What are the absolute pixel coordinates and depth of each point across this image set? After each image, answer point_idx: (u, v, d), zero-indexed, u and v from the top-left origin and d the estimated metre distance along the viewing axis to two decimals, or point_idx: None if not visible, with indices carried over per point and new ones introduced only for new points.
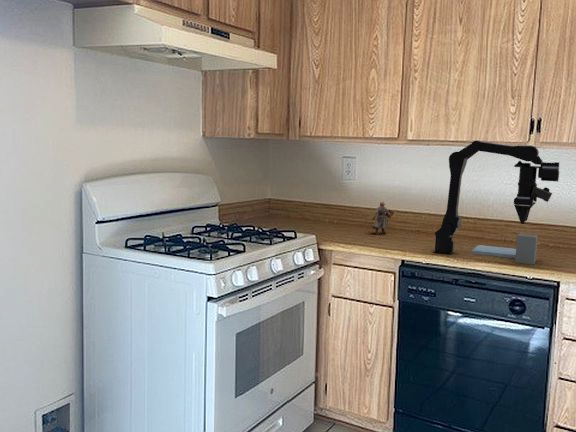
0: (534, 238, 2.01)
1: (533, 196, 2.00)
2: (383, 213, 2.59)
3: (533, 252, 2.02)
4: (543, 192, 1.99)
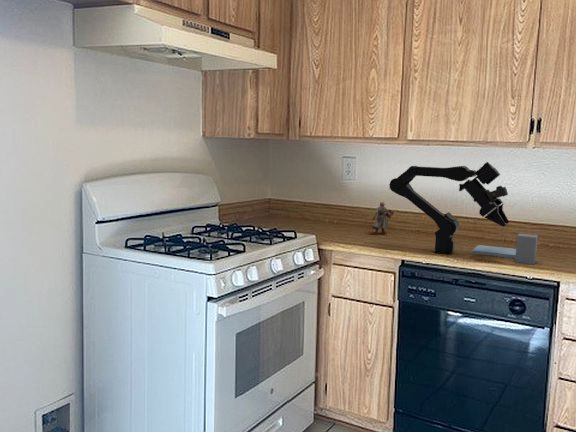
0: (534, 238, 2.01)
1: (493, 200, 2.07)
2: (383, 213, 2.59)
3: (533, 252, 2.02)
4: (497, 191, 2.06)
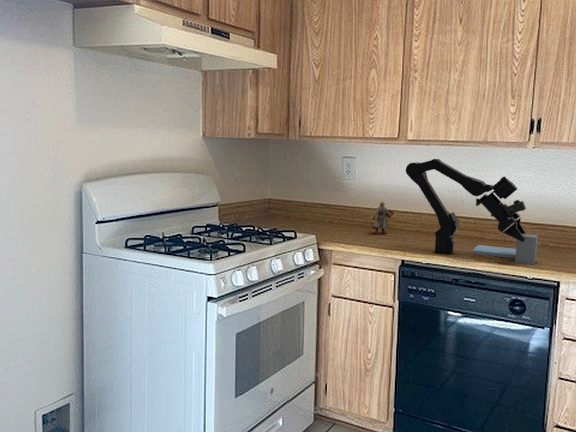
0: (534, 238, 2.01)
1: (511, 214, 2.04)
2: (383, 213, 2.59)
3: (533, 252, 2.02)
4: (514, 205, 2.04)
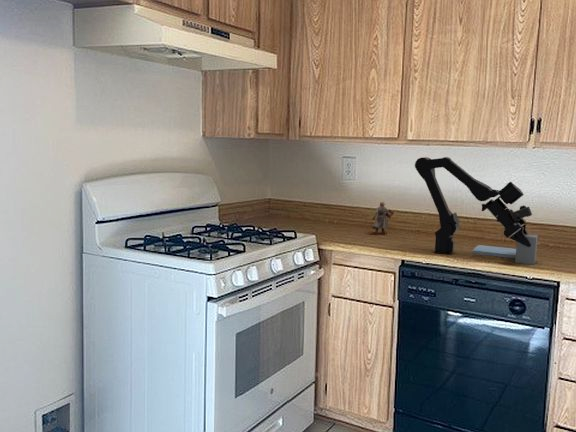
0: (534, 238, 2.01)
1: (517, 220, 2.04)
2: (383, 213, 2.59)
3: (533, 252, 2.02)
4: (521, 211, 2.03)
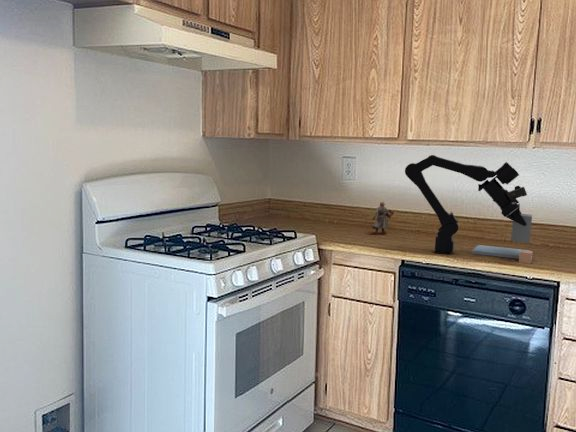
0: (530, 217, 2.06)
1: (513, 200, 2.08)
2: (383, 213, 2.59)
3: (529, 231, 2.07)
4: (517, 191, 2.07)
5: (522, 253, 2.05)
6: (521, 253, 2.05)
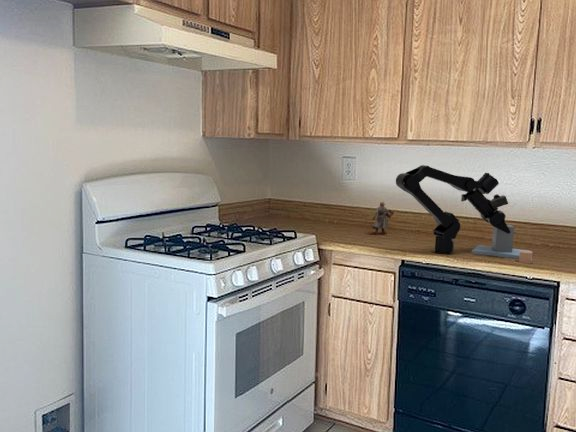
0: (512, 228, 2.17)
1: (496, 208, 2.17)
2: (383, 213, 2.59)
3: (511, 241, 2.17)
4: (499, 200, 2.17)
5: (522, 253, 2.05)
6: (521, 253, 2.05)
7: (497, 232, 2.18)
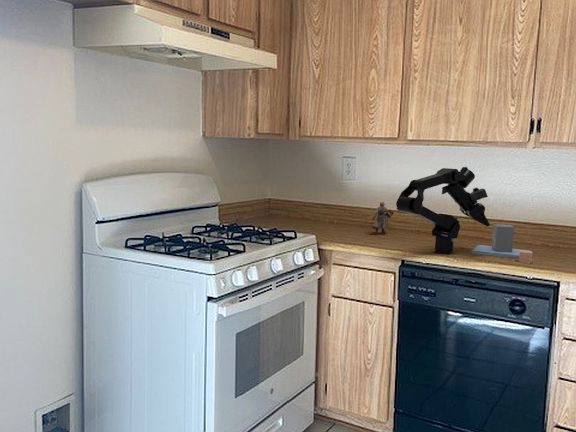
0: (512, 228, 2.17)
1: (476, 201, 2.17)
2: (383, 213, 2.59)
3: (511, 241, 2.17)
4: (479, 193, 2.17)
5: (522, 253, 2.05)
6: (521, 253, 2.05)
7: (497, 232, 2.18)
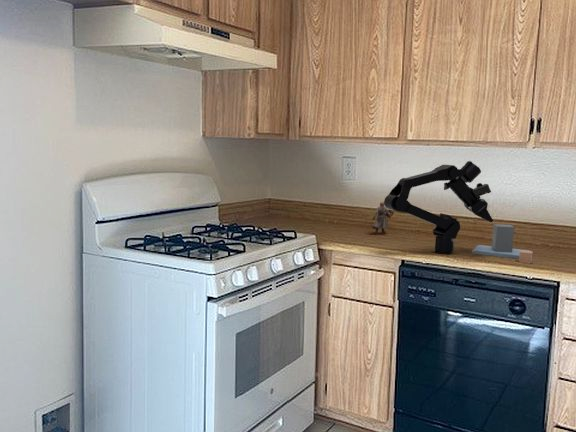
0: (512, 228, 2.17)
1: (479, 197, 2.15)
2: (383, 213, 2.59)
3: (511, 241, 2.17)
4: (482, 188, 2.15)
5: (522, 253, 2.05)
6: (521, 253, 2.05)
7: (497, 232, 2.18)
